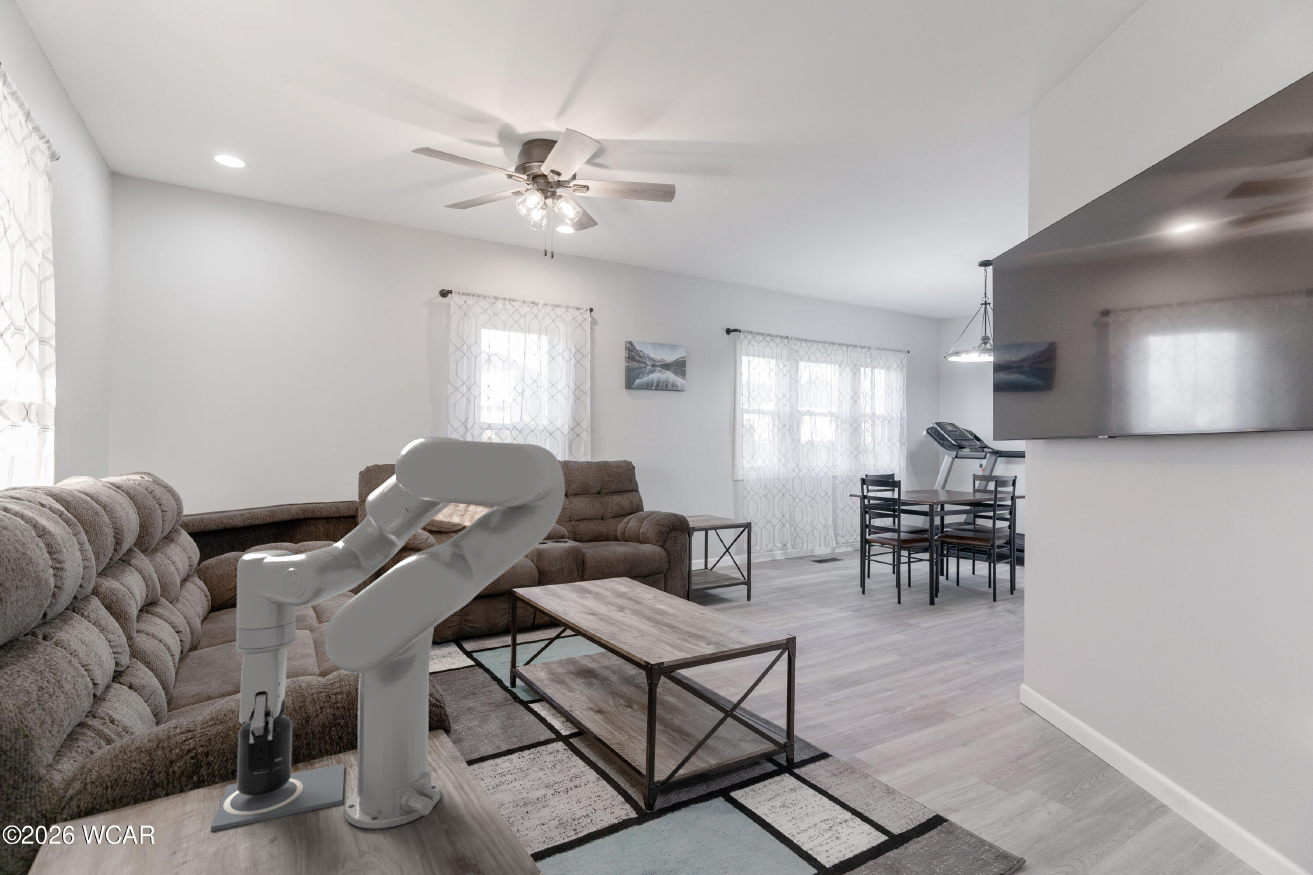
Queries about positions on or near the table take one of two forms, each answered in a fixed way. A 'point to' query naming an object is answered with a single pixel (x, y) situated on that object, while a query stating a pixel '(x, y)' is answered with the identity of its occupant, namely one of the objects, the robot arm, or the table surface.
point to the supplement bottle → (281, 771)
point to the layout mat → (282, 798)
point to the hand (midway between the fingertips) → (265, 755)
